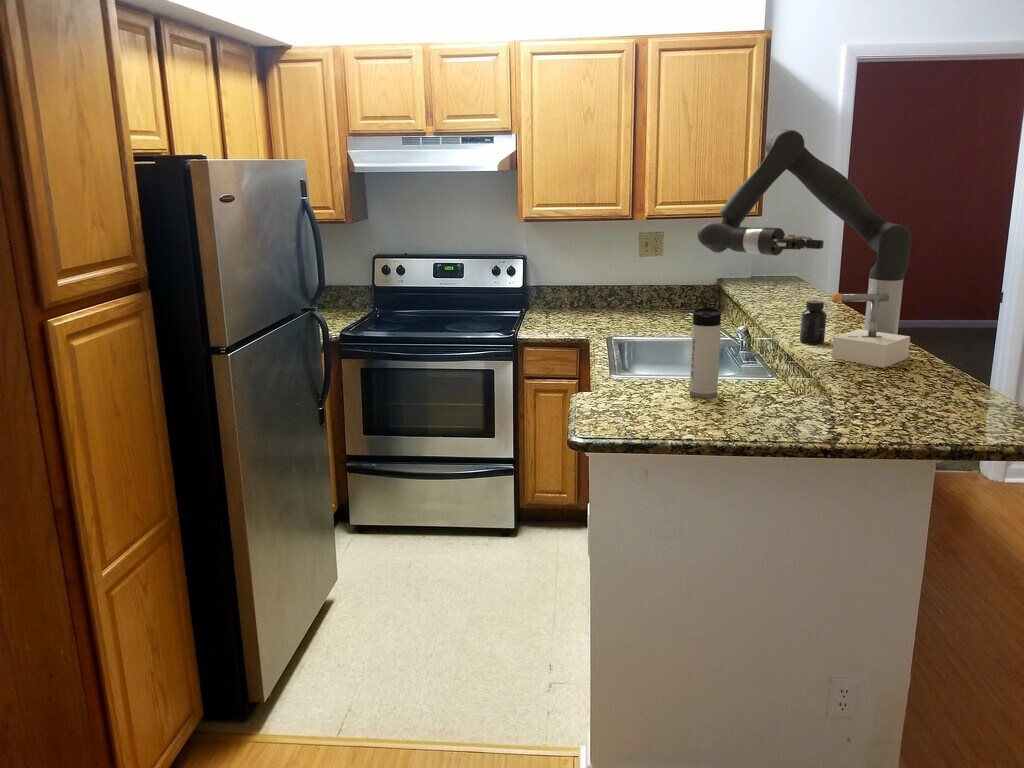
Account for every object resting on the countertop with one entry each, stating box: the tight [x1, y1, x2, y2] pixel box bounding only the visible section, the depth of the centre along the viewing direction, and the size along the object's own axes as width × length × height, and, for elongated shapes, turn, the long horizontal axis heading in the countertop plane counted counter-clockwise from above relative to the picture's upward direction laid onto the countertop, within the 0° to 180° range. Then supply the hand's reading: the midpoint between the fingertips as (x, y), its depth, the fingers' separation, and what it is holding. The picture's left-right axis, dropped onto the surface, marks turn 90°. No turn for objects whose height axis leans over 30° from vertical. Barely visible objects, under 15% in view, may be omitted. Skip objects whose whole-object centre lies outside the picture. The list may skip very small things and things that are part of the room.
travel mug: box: [689, 306, 722, 399], centre depth 182 cm, size 6×7×20 cm
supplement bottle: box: [799, 300, 828, 345], centre depth 233 cm, size 7×7×12 cm
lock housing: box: [831, 328, 911, 369], centre depth 213 cm, size 14×14×6 cm
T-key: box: [830, 292, 889, 336], centre depth 211 cm, size 14×3×12 cm, turn 86°
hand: (821, 244), depth 212 cm, fingers closed
